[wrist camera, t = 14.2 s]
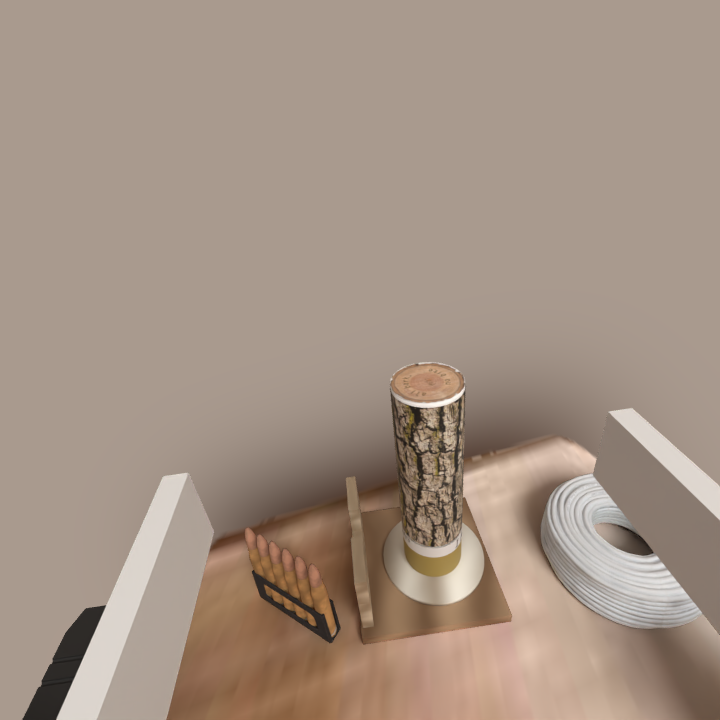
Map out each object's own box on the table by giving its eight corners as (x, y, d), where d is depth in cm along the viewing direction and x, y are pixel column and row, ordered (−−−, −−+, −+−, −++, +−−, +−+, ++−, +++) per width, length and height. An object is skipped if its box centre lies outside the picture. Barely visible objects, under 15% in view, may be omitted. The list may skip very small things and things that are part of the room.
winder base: (363, 644, 44) (353, 594, 39) (352, 520, 58) (343, 472, 53) (511, 621, 44) (518, 568, 40) (464, 503, 58) (466, 454, 53)
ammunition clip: (341, 628, 45) (324, 560, 40) (331, 644, 44) (313, 576, 38) (270, 583, 51) (246, 517, 45) (260, 596, 50) (234, 530, 44)
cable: (662, 500, 55) (674, 467, 52) (752, 642, 40) (777, 607, 37) (525, 497, 58) (529, 466, 55) (563, 629, 43) (571, 596, 40)
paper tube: (414, 587, 47) (402, 410, 34) (397, 537, 52) (381, 370, 40) (471, 571, 47) (478, 393, 35) (447, 523, 53) (447, 356, 41)
